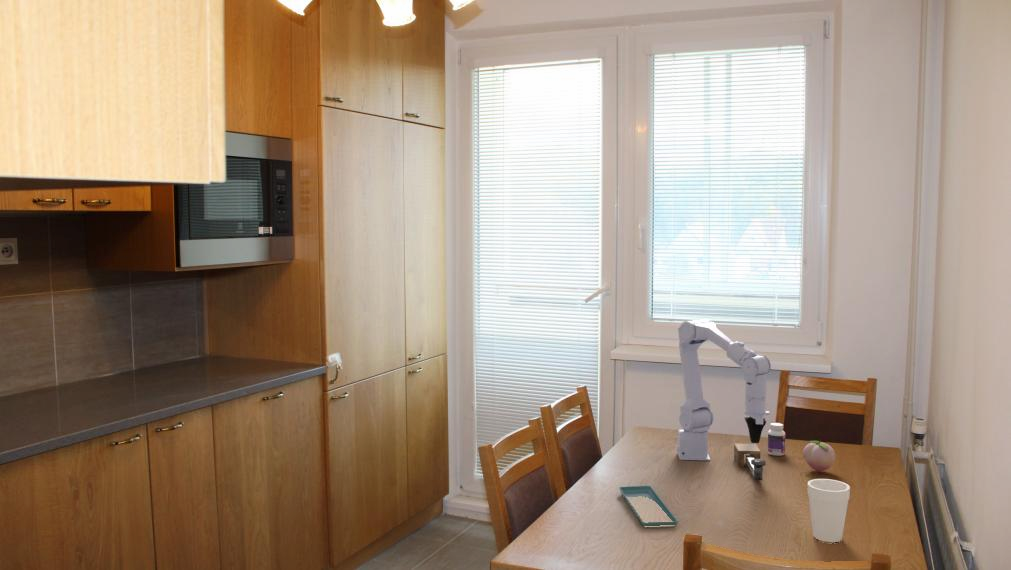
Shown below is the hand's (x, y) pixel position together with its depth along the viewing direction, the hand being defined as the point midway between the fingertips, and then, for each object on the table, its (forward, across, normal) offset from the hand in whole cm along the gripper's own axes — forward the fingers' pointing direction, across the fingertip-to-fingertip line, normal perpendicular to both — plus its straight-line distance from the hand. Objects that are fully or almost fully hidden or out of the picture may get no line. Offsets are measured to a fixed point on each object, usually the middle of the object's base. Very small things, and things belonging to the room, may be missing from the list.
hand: (754, 442), depth 239 cm
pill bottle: (+11, +25, -11) cm, 29 cm away
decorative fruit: (+11, +7, -20) cm, 24 cm away
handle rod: (+9, +1, 0) cm, 9 cm away
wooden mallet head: (+10, +14, 0) cm, 17 cm away
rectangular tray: (+11, -30, +33) cm, 46 cm away
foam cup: (+10, -45, -9) cm, 47 cm away
